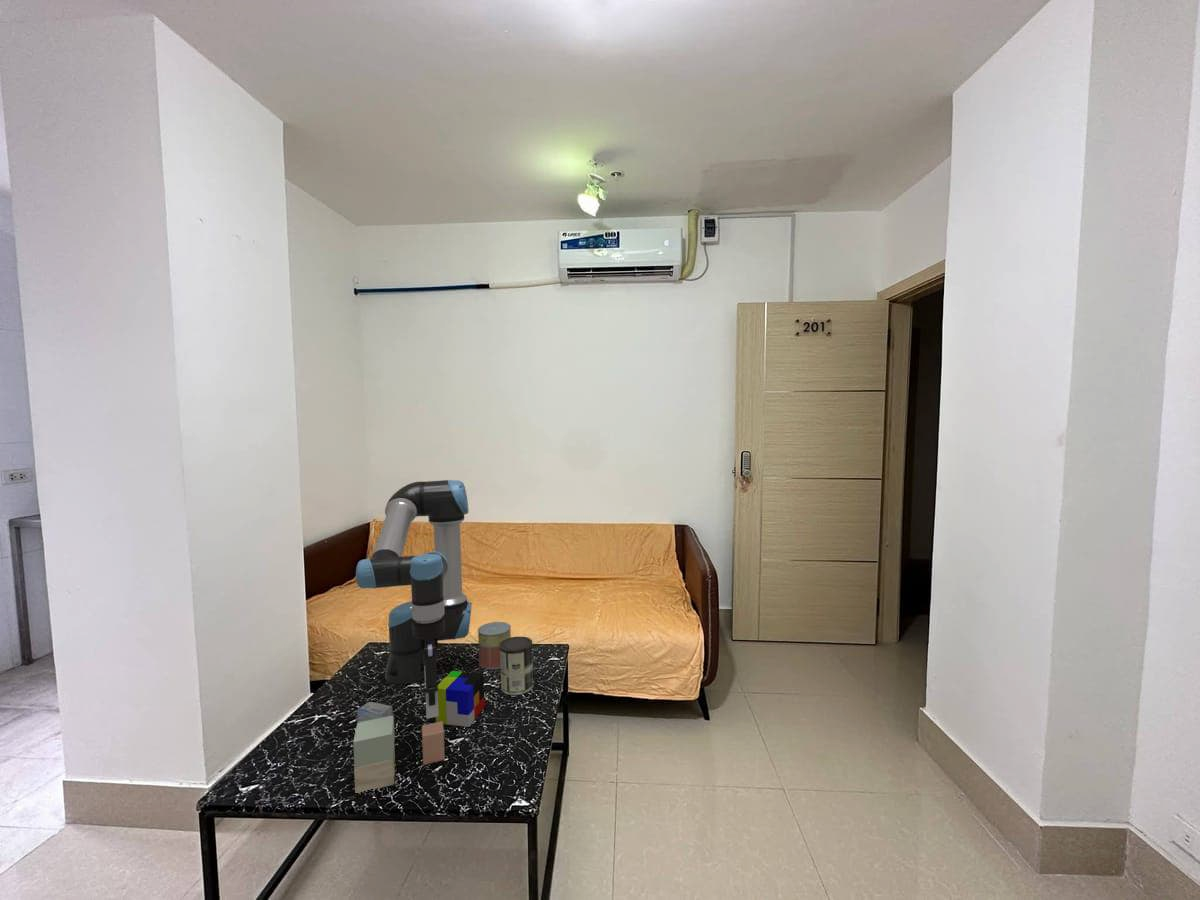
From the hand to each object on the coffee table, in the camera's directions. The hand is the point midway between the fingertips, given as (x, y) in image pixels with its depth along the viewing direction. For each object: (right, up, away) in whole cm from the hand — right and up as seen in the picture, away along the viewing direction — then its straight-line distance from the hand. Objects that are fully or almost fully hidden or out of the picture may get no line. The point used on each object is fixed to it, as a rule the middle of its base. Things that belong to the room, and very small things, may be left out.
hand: (431, 702), depth 122 cm
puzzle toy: (+2, -13, +19) cm, 23 cm away
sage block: (-11, -9, -7) cm, 15 cm away
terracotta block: (0, -14, +1) cm, 14 cm away
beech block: (-11, -15, -6) cm, 19 cm away
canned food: (+5, -12, +51) cm, 52 cm away
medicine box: (-17, -14, +8) cm, 24 cm away
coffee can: (+16, -12, +33) cm, 39 cm away
